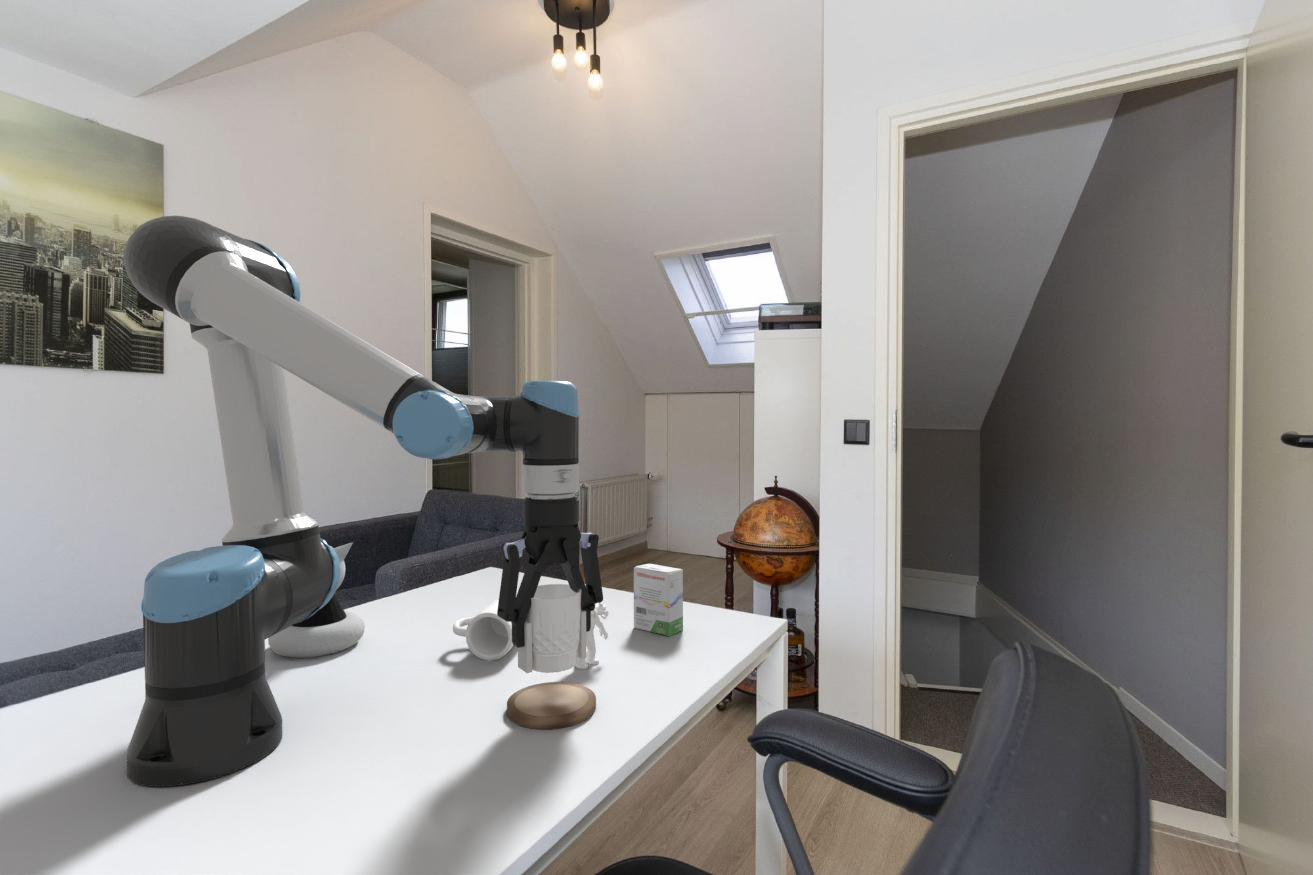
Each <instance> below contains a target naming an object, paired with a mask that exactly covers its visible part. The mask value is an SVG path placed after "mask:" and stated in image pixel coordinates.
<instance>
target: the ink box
mask: <svg viewBox="0 0 1313 875" xmlns="http://www.w3.org/2000/svg"><path fill="white" fill-rule="evenodd" d="M683 571H684V569H682V568H676V567H670V566H665V565H659V564H656V563H655V564H653V563H646V564H640V565H636V566H635V567H633V628H634V629H637V630H642V631H647V632H650V633H653V634H654V633H655V634H658V635H662V636H666V637H671V636H673V635H676V634H678V633H679V632H681V631H683V630H684V575H683V574H684V572H683Z"/></svg>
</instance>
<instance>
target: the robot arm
mask: <svg viewBox="0 0 1313 875" xmlns="http://www.w3.org/2000/svg"><path fill="white" fill-rule="evenodd" d="M123 263H124V264H123V266H124V268H125V271H126V275H127V277H128V279H129V280H130V282H131V284H132V286H133V287H134V288H135V289H136V290H137V291H138V292H139V294H141V296H143V297H144V298H146V299H147V300H149V301H150V302H151V303H153V304H154V305H157V306H159V307H160V308H162V309H164V310H165V311H167V312H169V313H171V314H173V315H174V316H176V317H178V318H180V319H181V320H183V321H184V322H186V323H187V324H188V323H189V329H190V334H191V338H192V339H193V340H194V341H196V343H198V344H200V345H201V346H202V347H204V348H205V349H206V351H207V356H208V363H209V369H210V376H211V377H210V378H211V383H212V389H213V390H212V391H213V397H214V405H215V410H216V411H215V412H216V417H217V425H218V430H219V431H218V432H219V438H220V444H221V450H222V457H223V465H224V472H225V478H226V484H227V491H228V498H229V504H230V505H229V506H230V512H231V521H232V526H231V527H230V529H229V530H227V532H226V533H225V535H224V536H223V537H222V538H221V543H222V545H218V546H211V547H204V548H203V549H200V550H191V551H188V552H183V553H180V554H176V555H174V556H171V557H169V558H167V559H165V560H162V561H160V562H159V563H158V564H156V565H155V566H153V567H152V568H151V569H150V570H149V571H148V572H147V575H146V577H145V578H144V583H143V585H144V586H143V598H142V599H141V603H140V604H141V606H140V607H141V613H142V624H143V625H142V627H143V630H142V631H143V633H142V634H143V656H144V663H143V664H144V681H145V682H144V683H145V684H144V688H145V690H144V691H145V694H144V695H145V699H144V702H143V705H142V708H141V711H140V714H139V717H138V719H137V723H136V724H135V728H134V730H133V734H132V735H131V736H132V737H131V739H130V742H129V745H128V748H127V750H126V758H125V759H126V775H127V777H128V779H129V780H130V781H132V782H133V783H135V784H138V785H142V786H148V787H175V786H185V785H189V784H196V783H200V782H204V781H207V780H208V781H209V780H213V779H216V778H219V777H223V776H225V775H229V774H231V773H233V772H237V771H239V770H241V769H244V768H246V767H249V766H250V765H253V764H254V763H256V762H258V761H260V760H262V759H264V758H265V757H266V756H267V755H269V754H270V753H271V752H273V751H274V750H275V749H276V748H277V747H278V746H279V744H280V743H281V742H282V739H283V717H282V713H281V712H280V709H279V705H278V704H277V701H276V699H275V696H274V694H273V692H272V689H271V688H270V687H271V686H270V685H269V683H268V680H267V677H266V650H265V649H266V646H265V645H266V643H265V642H266V641H265V640H266V639H268V638H269V637H271V636H273V635H275V634H277V633H278V632H280V631H282V630H284V629H286V628H288V627H290V626H292V625H293V624H297V623H300V622H302V621H304V620H306V619H308V618H309V617H311V616H312V615H314V614H315V613H316V612H317V611H318V610H320V609H321V608H322V607H324V606H325V605H326V604H327V603H328V602H329V601H330V599H331V598H332V597H333V595H334V594H336V591H337V590H338V589H337V587H338V584H339V580H340V562H339V559H338V556H337V554H336V552H335V550H334V549H333V548H334V547H333V546H331V545H329V544H328V543H327V541H326V540H325V539H323V538H321V534H320V533H321V532H320V527H319V523H318V521H317V520H315V519H314V518H312V517H310V516H309V515H307V514H306V512H305V509H304V507H305V506H304V502H303V494H302V488H301V486H302V485H301V482H300V473H299V467H298V466H299V465H298V459H297V455H296V454H297V453H296V445H295V440H294V432H293V425H292V419H291V411H290V405H289V399H288V398H289V397H288V389H287V384H286V377H285V371H286V372H289V373H291V374H292V375H294V376H295V377H297V378H299V379H300V380H302V381H304V382H305V383H307V384H309V385H311V386H312V387H315V388H316V389H318V390H319V391H321V392H323V393H324V394H325V395H328V396H330V397H331V398H333V399H335V400H336V401H338V402H340V403H341V404H343V405H345V406H346V407H348V408H350V409H352V410H353V411H355V412H357V413H358V414H361V416H364V417H365V418H367V419H368V420H370V421H372V422H373V423H376V424H377V425H378V426H380V427H382V428H384V429H385V430H387V431H389V432H390V433H392V434H394V437H395V439H396V440H397V442H398V444H399V445H400V446H401V448H402V449H403V450H405V451H406V452H407V453H408V454H410V455H411V456H415V457H417V458H421V459H429V460H433V461H434V460H435V461H437V460H443V459H449V458H452V457H456V456H460V455H468V454H474V453H493V452H494V453H495V452H502V453H503V452H511V453H512V452H521V453H522V492H523V493H524V494H525V495H527V496H526V497H524V498H523V500H522V511H523V512H522V515H523V516H522V518H523V520H522V521H523V529H524V530H523V533H522V535H521V538H520V539H518V540H516V541H513V542H507V541H504V542H503V543H502V544H501V546H500V548H501V552H502V553H501V554H502V557H503V565H502V572H501V581H500V587H499V588H500V589H499V595H498V598H499V602H498V610H497V615H498V616H499V617H500V618H502V619H504V620H505V621H507V622H511V623H512V643H513V645H514V646H513V647H515V648H517V668H519V669H520V670H522V671H523V672H524V673H525V674H529V673H533V670H532V623H531V622H529V621H527V620H526V619H527V616H528V613H529V610H530V607H531V604H532V603H531V598H534V595H535V592H536V589H537V587H538V586H539V583H540V580H541V578H542V575H543V574H544V573H545V571H546V569H547V567H550V566H552V565H554V564H559V565H560V566H561V567H562V571H563V573H564V575H565V578H566V581H567V583H568V585H569V586H570V588H571V589H572V590H573V591H574V592H576V593H578V592H579V589H581V616H580V632H579V635H580V637H579V644H578V657H579V658H581V659H584V658H586V653H587V646H586V632H588V631H590V628H591V611H593V610H594V609H595V604H596V603H603V601H604V594H603V593H604V592H603V585H602V579H601V571H600V564H599V557H598V547H599V541H600V540H599V538H600V537H599V535H598V534H596V533H592V532H590V531H585V532H581V530H580V528H579V522H580V498H579V497H578V495H575V494H577V493H578V492H579V491H580V484H579V483H580V481H579V480H580V478H579V477H580V476H579V475H580V470H579V469H580V466H579V463H580V461H579V460H580V459H579V458H580V457H579V455H580V454H579V449H580V446H579V445H580V443H579V442H580V438H579V437H580V436H579V435H580V433H579V432H580V413H579V405H578V404H579V402H578V401H579V400H578V389H577V387H576V385H574V383H572V382H570V381H564V380H563V381H562V380H530V381H525V382H524V383H523V384H522V387H521V392H520V395H515V396H487V395H486V396H482V395H481V396H480V395H479V396H477V395H476V396H475V395H470V394H469V395H467V394H459V393H455V392H453V391H451V390H449V389H447V388H445V387H444V386H441V385H440V384H439V383H437V382H435V381H433V380H431V379H430V378H428V377H426V376H424V375H423V374H422V373H420V372H418V371H416V370H415V369H413V368H411V367H410V366H408V365H406V364H404V363H402V362H401V361H399V360H397V359H396V358H394V357H392V356H391V355H389V354H388V353H386V352H384V351H382V350H381V349H379V348H377V347H376V346H374V345H372V344H371V343H369V342H367V341H366V340H364V339H362V338H361V337H359V336H357V335H355V334H354V333H352V332H350V331H349V330H347V329H345V328H344V327H342V326H340V325H338V324H337V323H335V322H334V321H332V320H330V319H328V318H327V317H325V316H323V315H321V314H320V313H318V312H316V311H315V310H313V309H312V308H310V307H308V306H307V305H304V304H302V303H301V297H302V296H301V295H302V294H301V286H300V282H299V279H298V277H297V276H298V275H296V273H295V271H294V269H293V268H292V266H291V265H290V263H289V262H288V261H286V260H285V258H283V257H282V256H281V255H279V254H278V253H276V252H274V251H273V250H272V249H270V248H269V247H267V246H265V245H264V244H262V243H259V242H257V241H253V240H252V239H247V238H243V237H241V236H238V235H236V234H233V233H231V232H229V231H226V230H225V229H222V228H220V227H216V226H214V225H212V224H210V223H208V222H206V221H204V220H201V219H198V218H195V217H188V216H183V215H163V216H160V217H157V218H152V219H150V220H147V221H145V222H144V223H142V224H140V225H139V226H138V227H137V228H136V229H134V231H133V232H132V233H131V235H130V236H129V237H128V239H127V242H126V244H125V246H124V253H123ZM578 545H579V547H580V554H581V562H582V568H583V569H582V570H583V575H584V578H583V576H582V573H581V571H580V570H581V569H580V568H579V562H578V561H579V560H578V559H577V556H576V554H575V550H576V548H577V546H578ZM523 550H525V551H526V553H527V554H528V555H527V556H528V557H527V559H526V561H525V566H524V567H525V570H524V573H523V576H522V579H521V582H520V585H519V584H518V583H519V577H520V567H521V559H520V558H521V557H523ZM518 585H519V588H518ZM338 588H339V587H338Z"/></svg>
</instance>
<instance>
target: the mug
mask: <svg viewBox="0 0 1313 875" xmlns="http://www.w3.org/2000/svg"><path fill="white" fill-rule="evenodd" d="M498 602H499V597H498V598H497V599H495V600H493V601H492V602H491V603H490V604H489V605H487V606H486V607H485V608H483V610H481V611H480V612H479V613H477V614H476V615H475V616H468V617H464V618H460V619H458V620H455V622H454V623H453V625H452V632H453V633H454V634H455V635H456V636H460V637H463V638H465V640H466V641H465V642H466V644H467V647H468V648H469V650H470V652H471V653H472V654H473V655H475V656H476V657H477V658H479V659H481V660H485V661H495V660H499V659H501V658H503V657H505V656H506V655H507V654H508V652H510V650H512V648H513V647H515V646H514V645H513V643H512V623H511V622H507V621H505V620H504V619H502V618H500V617H499V616H498V615H497V610H498ZM465 626H467V627H465Z"/></svg>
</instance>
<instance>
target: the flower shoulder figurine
mask: <svg viewBox="0 0 1313 875" xmlns="http://www.w3.org/2000/svg"><path fill="white" fill-rule="evenodd" d="M603 615H604V616H603ZM608 615H609V610H607V606H606V603H605V602H601V603H596V604H595V609H594V610H593V611H591V628H590V631H588V632H586V658H584V659H581V658H579V657H578V662H577V664H576V666H574V667H576V669H579V670H586V669H588V668H589V665H599V663H600V661H599V659H597V657H596V653H597V652H596V651H597V648H596V640H595V634H594V629H595V627H597V628H598V631H599V635H600V637H601V638H602V637H603V639H604V640H605V641H606V640H608V638H609V637H608V636H609V633H608V631H607V629H606V627H605V625H604V623H603V622H602V620H606V618H608ZM599 616H600V617H601V618H602V620H601V619H600V617H599Z"/></svg>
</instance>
